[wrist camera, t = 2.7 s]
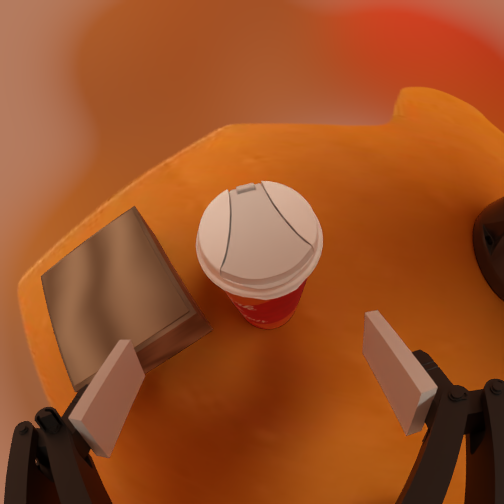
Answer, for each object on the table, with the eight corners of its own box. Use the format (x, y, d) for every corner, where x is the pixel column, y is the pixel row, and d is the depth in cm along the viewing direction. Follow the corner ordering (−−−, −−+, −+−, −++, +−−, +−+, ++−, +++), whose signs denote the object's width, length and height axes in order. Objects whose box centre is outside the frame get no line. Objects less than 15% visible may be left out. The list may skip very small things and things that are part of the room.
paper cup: (223, 278, 30) (184, 192, 18) (293, 259, 30) (299, 164, 18) (239, 350, 26) (201, 308, 14) (316, 329, 27) (347, 269, 14)
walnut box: (154, 235, 34) (133, 204, 28) (213, 329, 27) (195, 312, 22) (70, 295, 31) (39, 275, 25) (109, 395, 25) (73, 391, 19)
